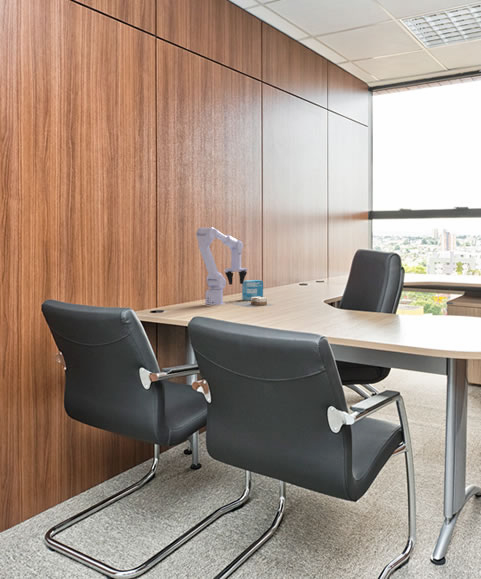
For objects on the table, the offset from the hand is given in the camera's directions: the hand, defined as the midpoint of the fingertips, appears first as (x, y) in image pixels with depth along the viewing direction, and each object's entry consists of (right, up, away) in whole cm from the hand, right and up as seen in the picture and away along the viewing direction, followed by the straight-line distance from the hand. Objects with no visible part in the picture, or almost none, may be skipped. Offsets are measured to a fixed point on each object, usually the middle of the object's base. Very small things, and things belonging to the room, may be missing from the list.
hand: (236, 284), depth 321 cm
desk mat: (+9, -12, -14) cm, 21 cm away
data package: (+10, -10, +8) cm, 16 cm away
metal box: (+13, -12, -16) cm, 23 cm away
